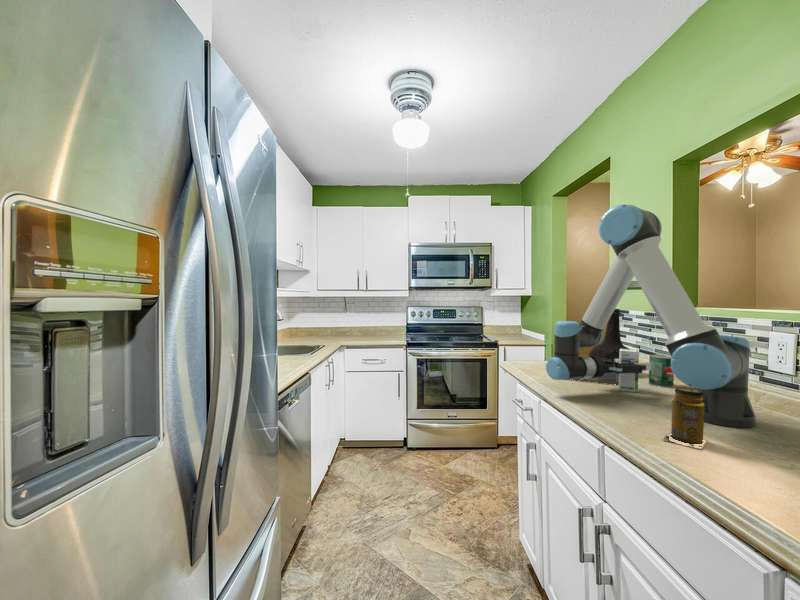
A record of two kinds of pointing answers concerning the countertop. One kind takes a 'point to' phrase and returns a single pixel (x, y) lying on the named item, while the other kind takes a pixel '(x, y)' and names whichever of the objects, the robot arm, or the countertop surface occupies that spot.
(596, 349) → the glass bottle
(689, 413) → the condiment
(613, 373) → the socket board
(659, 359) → the canned tomato
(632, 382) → the syrup box
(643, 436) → the countertop surface
